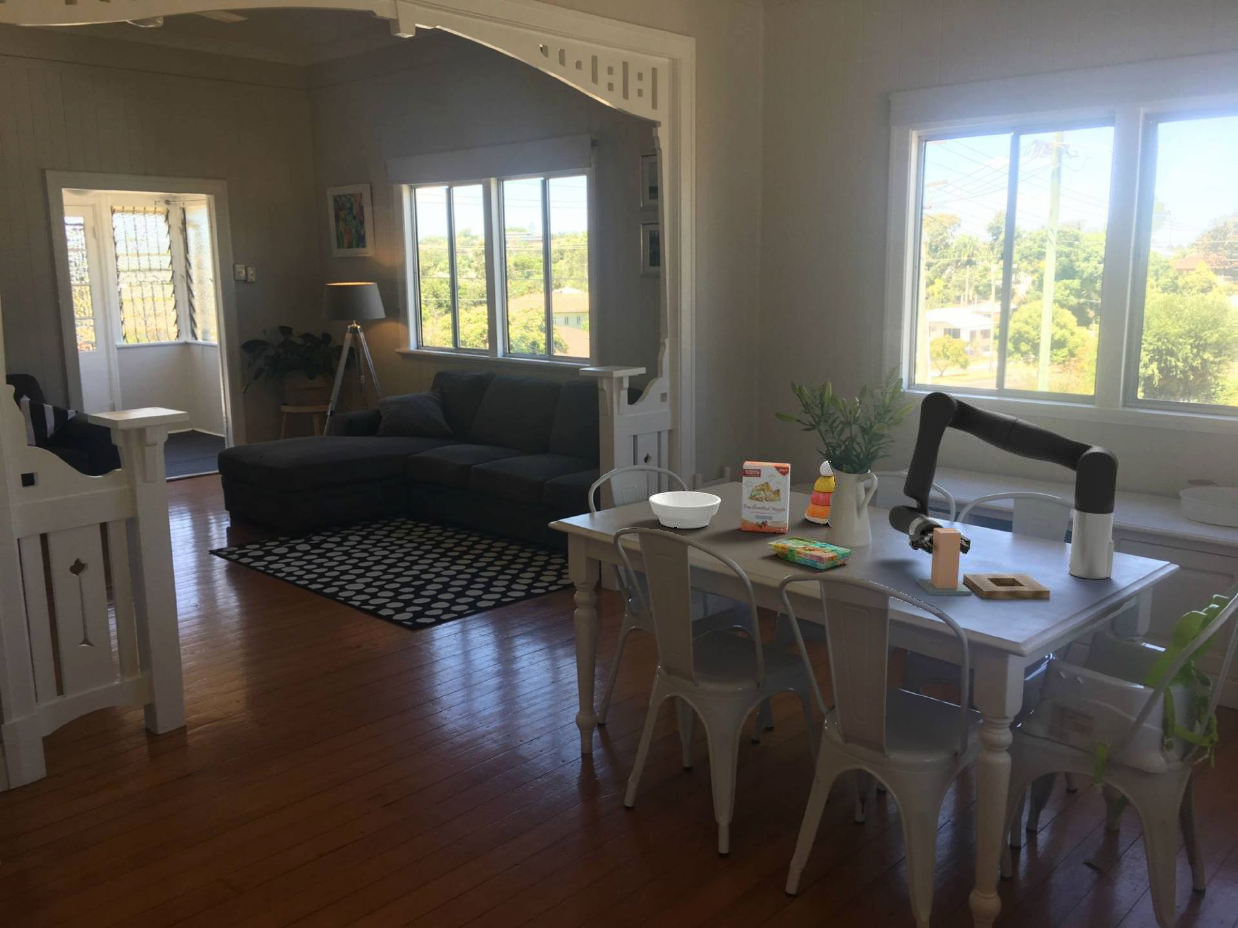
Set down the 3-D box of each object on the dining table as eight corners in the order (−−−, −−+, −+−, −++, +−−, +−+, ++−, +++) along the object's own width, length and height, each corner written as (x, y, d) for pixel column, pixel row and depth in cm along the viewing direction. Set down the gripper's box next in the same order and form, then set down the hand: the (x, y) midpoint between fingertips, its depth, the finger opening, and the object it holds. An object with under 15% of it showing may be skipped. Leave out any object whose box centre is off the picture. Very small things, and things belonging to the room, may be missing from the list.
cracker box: (740, 531, 307) (742, 464, 303) (743, 526, 313) (744, 460, 309) (787, 534, 304) (789, 466, 300) (788, 529, 310) (790, 462, 306)
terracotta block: (950, 582, 252) (953, 527, 250) (957, 588, 247) (961, 532, 245) (930, 582, 252) (933, 527, 250) (937, 588, 247) (940, 532, 245)
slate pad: (956, 582, 255) (956, 579, 255) (970, 595, 245) (971, 591, 245) (917, 583, 255) (917, 579, 255) (930, 595, 245) (930, 591, 245)
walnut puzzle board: (1025, 581, 256) (1026, 573, 256) (1049, 598, 243) (1050, 590, 242) (963, 581, 256) (963, 574, 256) (983, 598, 242) (984, 590, 242)
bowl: (717, 516, 327) (718, 491, 325) (723, 533, 305) (723, 506, 303) (648, 516, 327) (648, 491, 326) (648, 533, 305) (649, 506, 304)
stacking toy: (838, 514, 329) (841, 456, 325) (858, 525, 315) (860, 464, 312) (797, 517, 326) (799, 457, 322) (815, 527, 312) (817, 465, 309)
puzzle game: (824, 555, 264) (766, 540, 280) (823, 572, 265) (766, 556, 280) (851, 547, 272) (794, 533, 287) (850, 564, 273) (793, 549, 288)
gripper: (901, 519, 261) (920, 535, 245) (955, 519, 262) (978, 535, 246) (899, 547, 263) (919, 565, 247) (953, 547, 263) (976, 564, 247)
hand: (948, 550), depth 246 cm, fingers open, 8 cm apart
